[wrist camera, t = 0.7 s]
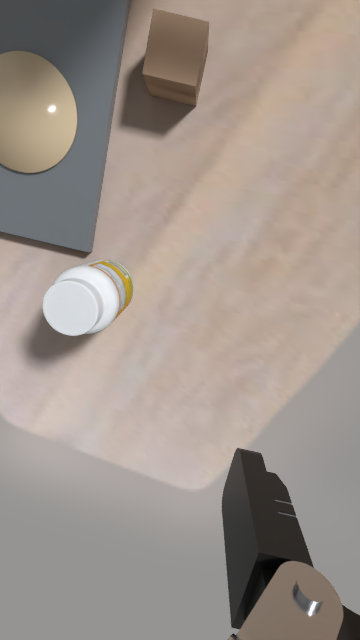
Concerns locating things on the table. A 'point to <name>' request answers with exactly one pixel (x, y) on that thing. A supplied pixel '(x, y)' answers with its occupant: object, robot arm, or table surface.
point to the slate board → (57, 114)
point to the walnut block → (175, 56)
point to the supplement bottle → (88, 297)
